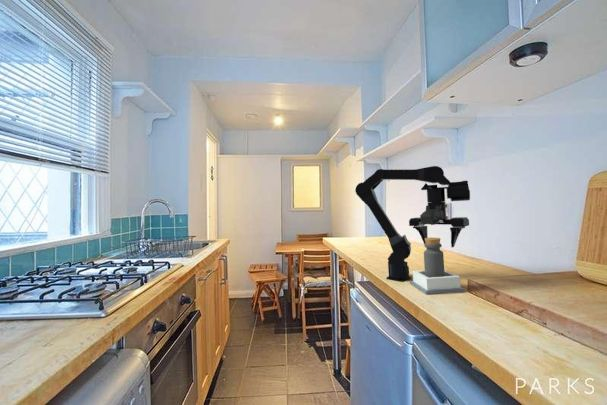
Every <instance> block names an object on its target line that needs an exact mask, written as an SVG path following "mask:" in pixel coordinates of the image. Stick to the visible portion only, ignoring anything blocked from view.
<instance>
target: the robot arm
mask: <svg viewBox="0 0 607 405" xmlns="http://www.w3.org/2000/svg"><path fill="white" fill-rule="evenodd" d="M384 180H385V181H386V180H387V181H388V180H391V181H392V180H393V181H398V180H400V181H420V182H424V185H423V186H422V187H421V191H426V199H427V200H426V201H427V205H426V206H425V211H424V212H422V213H421V214H420V215H419V217H411V218H409V219H408V223H409V224H408V226H409V227H412V228H413V229H415V230H416V231H417V232H418V233H419V235H420V237H421V240H422V242H423V245H424V244H425V243H426V242H425V238H429V237H428V225H430V226H434V225H442V226H443V225H445V226H446V225H450V226H451V227H449V230H450V233H451V234H450V244H451V245H450V246H451V247H450V248H454V247H455V246H456V244H457V240H458V237H459V235H460V233H461V231H462V230H463V229H465V228H466V227H468V226H470V220H469V218H468V217H467V216H465V217H464V216H463V217H462V216H459V217H457V216H456V217H451V218H450V219H448V218H449V217H448V215H447V210H446V208H448V205H447V204H446V198H447V199H450V202H464V201H466V202H467V201H470V200H471V190H470V186H469V181H468V180H461V181H452V182H451V181H450V180H449V179H448V178H447V177H446V176H445V173H444V169H443V168H442V167H440V166H437V165H431V166H426V167H421V168H417V169H383V168H378V169H376V171H375V172H374V173H372V174H371V175H370V176H368V178H366V179H365V180H364V181H363V182H360V183H358V184H357V185H356V187H355V191H354V192H355V194H356V195H357V196H358V198H359V199H360V200H361V201H362V202H363V203H364V204H366V206H367V207H368V208H369V209H370V211H371V213H372V215H373V216H374V217H375V219H376V221H377V223H378V224H379V226H380V228H381V229H382V230H383V232H384V233H385V235H386V237H387V238H388V241H389V245H390V248H391V250H392V252H391V253H390V254H389V255H388V257H387V260H388V261H387V268H388V269H387V270H388V276H387V277H386V279H387V280H392V281H398V282H404V281H407V280H408V279H410V278H411V276H410V268H409V265H408V261H405V260H406V259H408V258H409V257H410V255H411V252H412V246H411V245H412V243H411V242H410V241H409V240H408V238H407V236H406V234H404V235H401V234H400V233H399V232H398V231H397V229H396V228H395V226H394V225H393V223H392V221H391V219H390V218H389V216H388V215H387V214H386V212H385V210H384V209H383V207H382V206H381V204H380V203H379V200H378V197H377V195H376V192H375V189H376V188H377V187H378V186H379V185H380V184H381V183H382V182H383V181H384ZM427 183H429V184H427ZM438 184H439V185H440V186H439V187H438ZM445 190H446V191H445ZM445 192H446V193H445Z"/></svg>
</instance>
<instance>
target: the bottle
mask: <svg viewBox="0 0 607 405" xmlns="http://www.w3.org/2000/svg"><path fill="white" fill-rule="evenodd" d="M425 242H426V243H425V244H424V243H423V246H424V248H426V249H425V250H424V251H423V262H424V263H423V264H424V270H425V276H427V277H428V278H430V277H445V273H444V270H445V261H444V260H445V257H444V252H443V251H442V250H441V249H440V248H442V243H441V238H440V237H428V238H425Z"/></svg>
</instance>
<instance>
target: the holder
mask: <svg viewBox="0 0 607 405" xmlns="http://www.w3.org/2000/svg"><path fill="white" fill-rule="evenodd" d="M444 273H445V277H430V278H428V277H427V276H425V269H424V270H413V271H412V280H409V284H410V285H411V286H413V287H414V288H416V289H417V290H418V291H421V293H423V294H425V295H437V294H452V293H453V294H454V293H465V292H466V291H465V290H466V289H465V288H464V287H462V286H461V277H460V276H459V275H457V274H455V273H452V272H450V271H448V270H446V269H444Z"/></svg>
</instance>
